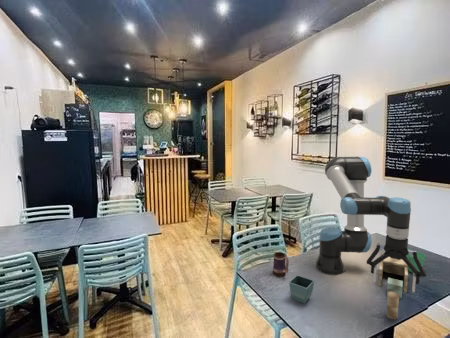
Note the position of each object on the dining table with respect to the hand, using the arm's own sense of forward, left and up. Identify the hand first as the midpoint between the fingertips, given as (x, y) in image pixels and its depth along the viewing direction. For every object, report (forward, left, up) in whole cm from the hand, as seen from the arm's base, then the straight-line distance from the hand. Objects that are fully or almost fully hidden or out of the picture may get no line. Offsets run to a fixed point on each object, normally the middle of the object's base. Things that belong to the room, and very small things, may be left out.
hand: (393, 285), depth 110 cm
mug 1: (-52, +9, -14) cm, 54 cm away
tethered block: (+1, +11, -14) cm, 18 cm away
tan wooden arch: (0, +34, -14) cm, 36 cm away
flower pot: (-36, -7, -14) cm, 39 cm away
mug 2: (+9, +54, -14) cm, 56 cm away
